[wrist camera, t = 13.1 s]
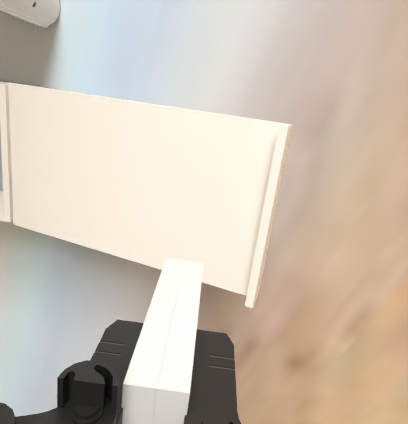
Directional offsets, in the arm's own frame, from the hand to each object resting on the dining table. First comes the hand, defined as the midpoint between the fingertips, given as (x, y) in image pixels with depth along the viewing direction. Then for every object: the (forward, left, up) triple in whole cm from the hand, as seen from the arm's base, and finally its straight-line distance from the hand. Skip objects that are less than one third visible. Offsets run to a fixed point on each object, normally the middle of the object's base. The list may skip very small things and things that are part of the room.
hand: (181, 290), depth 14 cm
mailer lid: (0, -7, -15) cm, 16 cm away
